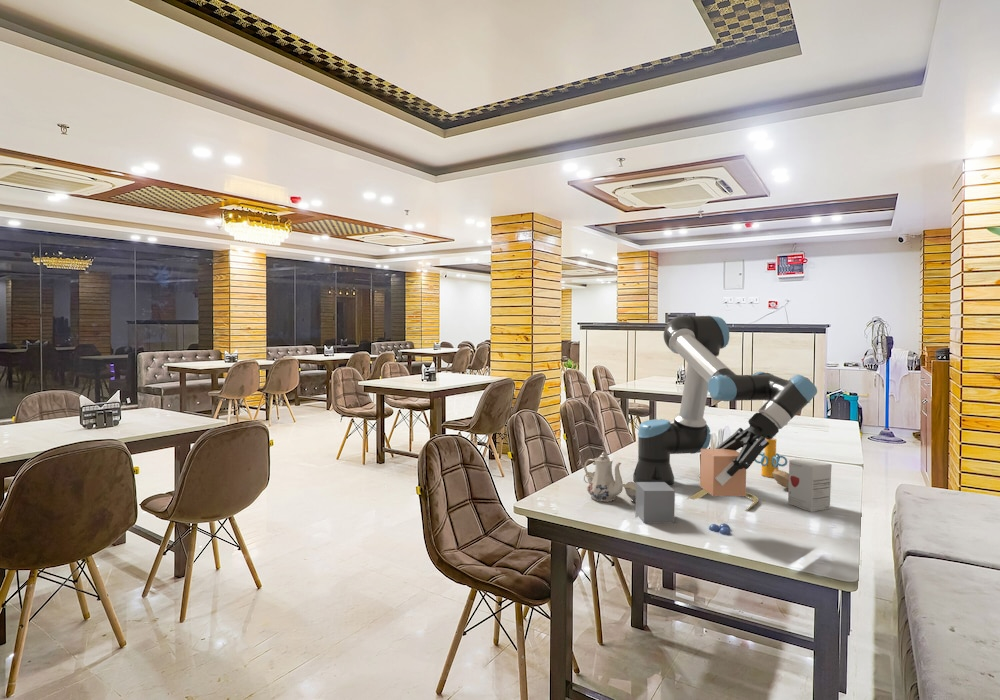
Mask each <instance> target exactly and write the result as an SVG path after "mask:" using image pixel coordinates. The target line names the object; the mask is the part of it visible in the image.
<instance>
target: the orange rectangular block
mask: <svg viewBox="0 0 1000 700" xmlns="http://www.w3.org/2000/svg"><path fill="white" fill-rule="evenodd" d="M739 453H740V451H738V450H736V451H735V450H731V449H715V448H707V449H701V452H700V463H699V464H700V469H699V470H700V471H699V473H700V477H699V487H700V488H701V489H702V490H703V489H704V490H706V491H707V492H708V494H709V495H711V496H712V497H744V496H746V492H747V469H745V468H743V469H739V470H738V471H737V472H736V473H735V474H734V475H733V476H732V477H731V478H730V479H729V480H728V481H727V482H726V483H725V484H724V485H723V486H722V485H721V484H720V483H719V482H718V481H717V480H716V479H715V477H716V476H717V475H718V474H719V473H720V472H721V471H722V470H724V469H725V468H726V467H727V466H728V465H729V464H730V463H731V462H733V461H732V460H733V459H736V458H737V457H738V455H739ZM733 463H734V462H733ZM734 464H735V463H734Z"/></svg>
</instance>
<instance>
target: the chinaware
mask: <svg viewBox="0 0 1000 700" xmlns="http://www.w3.org/2000/svg"><path fill="white" fill-rule="evenodd" d="M590 461H591V462H592V461H593V462H592V465H593V466H595V471H594V472H590V471H588V469H587V464H588V463H589V462H590ZM613 462H614V459H613V458H610V457H609V456H608V455H607V453H606V452H605V451H602V453H601V454H600V455H599V456H598V457H595V458H589V459H587V460H586V461H585V462H584V464H583V469H584V472H585V475H584V477H583V481H584V482H585V483H586V484H589V485H588V487H587V490H586V491H587V492H588V494H589V495H590V498H591V499H592V500H593V499H594V501H596V500H598V501H597V502H602V501H610V502H613V501H612V500H614V501H616V499H615V498H616V497H617V496H619V495H620V494H621V493H623V492H622V491H623V488H624V490H625V494H626V496H627V497H628V498H629V499H630V500H631V499H632V500H633V501H635V502H634V503H636V482H634V481H628V482H626V483H624V482H623V479H622V476H621V472H620V466H621V464H622V462H617V463H616V464H615V466H614V475H613V472H612V471H613V470H612V467H613ZM586 479H587V480H586ZM633 501H632V502H633Z"/></svg>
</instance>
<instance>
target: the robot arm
mask: <svg viewBox="0 0 1000 700" xmlns="http://www.w3.org/2000/svg"><path fill="white" fill-rule="evenodd" d="M729 330H730V329H729V326H728V323H727V322H726V321H725V320H724V319H723V318H722V317H719V316H714V315H680V316H677V317H674V318H673V319H671V320H670V321H669V322H668V323H667V324H666V326H665V327H664V330H663V341H664V343H665V345H666V346H667V347H668V349H669V350H670V351H671V352H672V353H674V354H677V355H679V356H680V357H682V359H684V360H685V362H686V363H687V365H686V366H687V367H686V372H685V378H684V384H683V390H682V396H681V403H680V408H679V413H678V414H676V415H675V416H674V420H673V423H671V421H670V420H669V419H665V418H664V419H662V418H661V419H658V418H657V419H648V420H644V421H642V422H641V423H640V424H639V425H638V433H637V436H638V437H637V438H638V444H637V445H638V447H637V448H638V450H637V451H638V454H637V455H638V456H637V459H638V460H637V462H636V466H635V468H634V472H633V475H632V476H633V477H632V479H633V481H632V482H634V483H636V482H665V483H666V484H668V485H669V486H670V487H671V486H673V485H674V484H675V475H674V473H673V470H672V469H673V468H672V466H671V460H670V459H671V455H675V454H676V455H677V454H678V455H679V454H685V455H686V454H691V455H692V454H693V455H694V454H697V453H699V454H701V449H709V446H710V443H711V439H712V438H711V437H712V434H711V429H710V427H709V425H708V424H707V421H706V420H705V418H704V414H705V410H706V409H705V408H706V404H707V397H708V393H709V396H710V397H711V398H712V399H713V400H715V401H718V402H719V401H720V402H721V401H723V402H733V401H734V402H735V401H766V402H765V404H763V405H762V406H761V407H760V408H759V409H758V412H755V413H754V415H753V416H751V417H750V418H749V419H748V424H749V427H747V428H746V429H743V428H742V427H739V428H738V429H737V430H735V432H734V433H732V434H731V435H730V436H729V437H728V438H726V439H725V440H724V441H722V442H721V443H720V444H719V445H718V446H716V447H715V448H714V449H731V450H735V451H738V450H739V449H741V450H740V451H739V455H738V457H737V458H736V459H733V460H732V461H733V462H734V463H735V464H734V463H733V462H731V463H730V464H729V465H728V466H727V467H726V468H725V469H724V470H722V471H721V472H720V473H719V474H718V475H717V476H716V477H715V479H716V480H717V481H718V482H719V483H720V484H721V485H722V486H723V485H724V484H725V483H726V482H727V481H728V480H729V479H730V478H731V477H732V476H733V475H734V474H735V473H736V472H737V471H738V470H739V469H743V468H745V469H746V470H748V469H749V468H750V467H751V465H752V464H753V463H754V462H755V461H754V460H755V459H756V460H757V458H758V457H759V456H760V455H759V454H760V453H761V452H763V451H764V450H765V447H766V446H767V445H769V442H768V441H767V440H766V439H769V440H770V439H772V438H775V436H776V435H777V434H778V433H779V430H782V429H783V428H784V427H785V426H787V425H788V423H789V422H790V421H791V420H792V419H793V418H794V417H796V415H797V414H798V413H799V412H801V411H802V410H803V409H804V408H805V407H806V406H807V405H808V404H810V403H811V401H812V400H813V398H815V396H816V395H817V394H818V388H817V387H816V385H815V384H814V383H813V382H812V381H811V380H810V379H808V378H807V377H806V376H803V375H801V374H796V375H793V376H792V377H790V379H789V380H788V379H785V378H782V377H780V376H776V375H774V374H771V373H769V372H764V371H757V372H755V373H753V374H743V375H742V374H736V373H735V372H734V371H733V370H731V369H730V368H729V367H728V366H727V365H726V364H725V363H724V362H723V361H721V359H719V358H718V357H719V356H720V351H721V349H724V348H726V347H727V346H728V344H729V341H730V331H729ZM765 438H766V439H765ZM761 454H762V453H761Z"/></svg>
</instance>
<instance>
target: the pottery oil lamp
mask: <svg viewBox="0 0 1000 700" xmlns="http://www.w3.org/2000/svg"><path fill="white" fill-rule="evenodd" d="M772 474H773V476H774V478H773V479H774V480H775V481H776V483H777V484H778V485H779V486H781V487H784V488H785V489H788V488H789V472H787V471H784V470H779V469H778V470H777V469H775V470H774V472H772Z"/></svg>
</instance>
